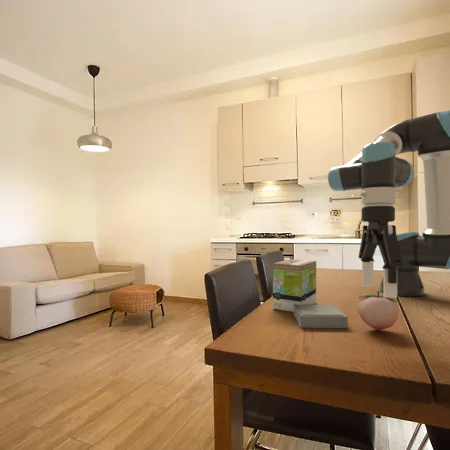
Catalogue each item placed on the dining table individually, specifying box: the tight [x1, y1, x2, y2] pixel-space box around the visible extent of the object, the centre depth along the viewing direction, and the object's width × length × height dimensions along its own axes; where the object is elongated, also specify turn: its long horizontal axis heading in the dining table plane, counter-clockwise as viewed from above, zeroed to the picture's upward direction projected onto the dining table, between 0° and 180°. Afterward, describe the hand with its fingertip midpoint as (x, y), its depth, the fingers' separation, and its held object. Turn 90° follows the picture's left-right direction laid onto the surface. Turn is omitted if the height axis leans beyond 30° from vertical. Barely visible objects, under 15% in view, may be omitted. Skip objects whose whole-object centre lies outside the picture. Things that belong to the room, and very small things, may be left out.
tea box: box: [272, 259, 317, 313], centre depth 104 cm, size 15×10×15 cm
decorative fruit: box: [357, 290, 400, 332], centre depth 79 cm, size 9×8×10 cm
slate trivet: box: [293, 304, 349, 329], centre depth 88 cm, size 12×12×3 cm
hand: (377, 291), depth 79 cm, fingers open, 13 cm apart
